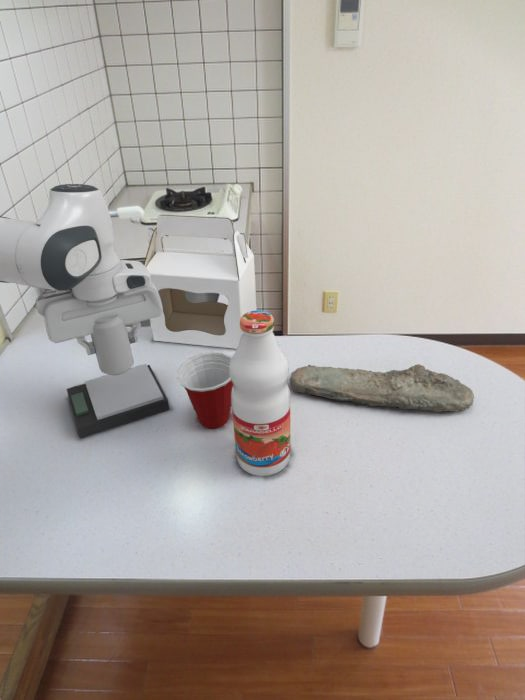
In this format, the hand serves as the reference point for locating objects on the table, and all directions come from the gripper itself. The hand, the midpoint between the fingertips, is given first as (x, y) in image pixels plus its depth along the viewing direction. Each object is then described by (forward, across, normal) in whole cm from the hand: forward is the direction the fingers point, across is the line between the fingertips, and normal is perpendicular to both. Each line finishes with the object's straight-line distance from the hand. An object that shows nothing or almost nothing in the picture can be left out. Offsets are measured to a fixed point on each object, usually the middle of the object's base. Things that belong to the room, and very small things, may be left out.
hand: (112, 347), depth 97 cm
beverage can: (+5, 0, 0) cm, 5 cm away
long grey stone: (+13, +45, -22) cm, 52 cm away
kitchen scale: (+13, -2, 0) cm, 13 cm away
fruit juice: (+13, +18, -26) cm, 34 cm away
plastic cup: (+13, +14, -13) cm, 23 cm away
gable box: (+13, +24, +17) cm, 32 cm away
